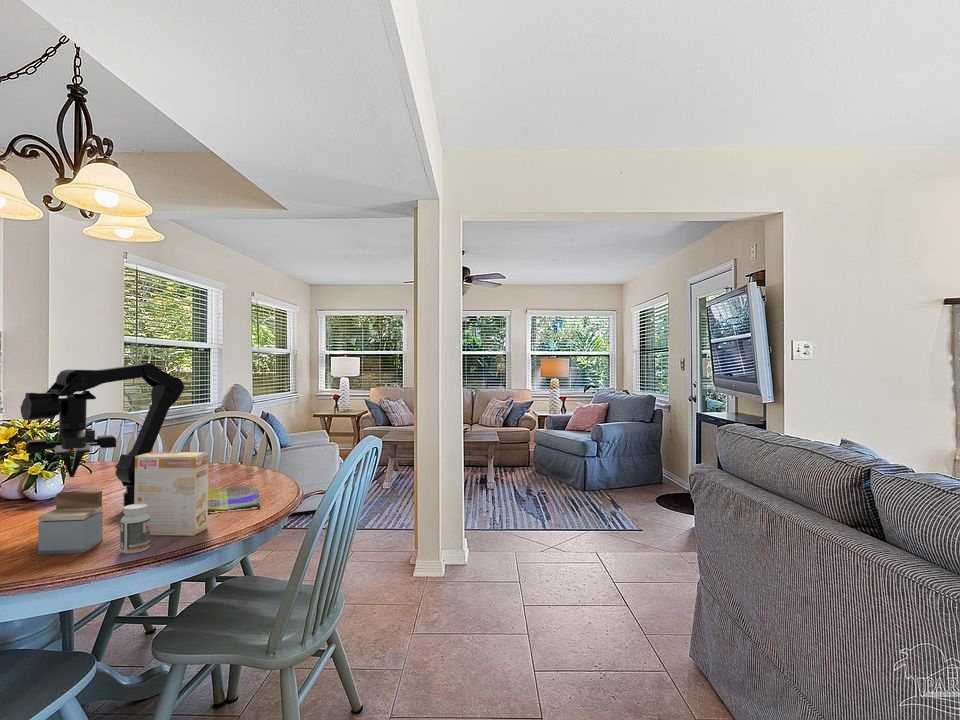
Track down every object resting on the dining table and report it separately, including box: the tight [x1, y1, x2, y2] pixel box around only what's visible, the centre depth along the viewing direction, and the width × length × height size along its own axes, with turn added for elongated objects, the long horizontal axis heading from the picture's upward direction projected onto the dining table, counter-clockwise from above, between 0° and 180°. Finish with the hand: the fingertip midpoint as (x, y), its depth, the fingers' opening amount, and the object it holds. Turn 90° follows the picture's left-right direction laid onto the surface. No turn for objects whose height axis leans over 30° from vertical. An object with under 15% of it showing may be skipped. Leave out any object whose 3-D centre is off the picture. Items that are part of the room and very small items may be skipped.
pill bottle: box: [119, 504, 151, 555], centre depth 122 cm, size 6×6×10 cm
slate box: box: [37, 510, 104, 555], centre depth 123 cm, size 8×9×7 cm
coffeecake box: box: [134, 451, 209, 537], centre depth 136 cm, size 15×7×20 cm, turn 90°
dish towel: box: [208, 484, 261, 513], centre depth 165 cm, size 18×24×3 cm
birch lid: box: [38, 490, 104, 522], centre depth 123 cm, size 8×9×4 cm
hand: (71, 476), depth 142 cm, fingers closed
